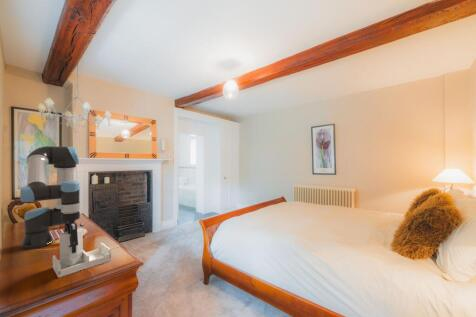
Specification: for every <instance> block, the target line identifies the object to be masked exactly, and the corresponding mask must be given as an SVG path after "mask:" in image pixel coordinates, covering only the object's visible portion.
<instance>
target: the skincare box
mask: <svg viewBox="0 0 476 317" xmlns="http://www.w3.org/2000/svg"><path fill="white" fill-rule="evenodd" d="M83 232H84V230H83V228H77V236H78V245H77V258H76V259H73V260H70V247H69V246H70V236H71V234H68V233H67V231H66V232H64V231H63V233H60V234H59V260H60V264H61V266H67V265H74V264H75V263H76V262H78V261H79V260H80V259H82V258H83V250H84V247H83V246H84V244H83V243H84V242H83V241H84V240H83V239H84V238H83V237H84V235H83ZM73 244H74V243H73Z"/></svg>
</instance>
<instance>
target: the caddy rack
mask: <svg viewBox="0 0 476 317" xmlns="http://www.w3.org/2000/svg"><path fill="white" fill-rule="evenodd" d="M111 261H112V249H111V247H109V246H107V245H106V244H105V243H104V242H100V247H99V248H95V249H92V250H90V251H89V250H88V251H85V250H84V249H83V258H82V259H80V260H79V261H78V262H76V263H75V264H74V265H67V266H61V264H60V259H59V258H57V256H56V255H52V269H53V270H54V272H55V274H56V276H57V277H58V278H62V277H65V276H68V275H71V274H74V273H77V272H80V270H81V271H83V269H84V270H86V269H90V268H92V267H95V265H96V266H98V265H101V264H105V263H109V262H111Z"/></svg>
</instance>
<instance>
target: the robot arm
mask: <svg viewBox="0 0 476 317" xmlns="http://www.w3.org/2000/svg"><path fill="white" fill-rule="evenodd" d="M78 154H79V152H78V150H77V148H76V147H74V146H53V145H52V146H47V145H46V146H45V145H44V146H42V147H38V148H36V149H34V150H32V151H30V153H29V154H28V155H27V157H26V161H25V162H26V165H27V166H28V167H27V168H28V169H27V178H26V180H27V181H26V186H22V187H21V188H20V192H19V197H20V202H22V203H28V202H31V203H33V202H40V201H41V202H43V201H49V200H56V203H55V204H54V205H53V208H50V207H49V206H44V207H43V206H42V207H38V208H33V209H30V210H28V211H27V212H25V213H24V218H23V219H24V236H23V239H22V241H21V244H20V250H25V251H26V250H35V249H39V248H43V247H46V246H45V245H46V244H47V243H49V242H51V241H52V240H53V241H54V238H53V236H52V233H51V231H50V227H57V226H63V225H64V231H63V233H64V232H66V231H67V233H68V234H71V236H70V246H69V247H70V260H73V259H76V258H77V245H78V236H77V229H78V224H77V223H76V221H77V220H79V219H80V218H81V214H80V213H81V212H80V210H81V207H80V206H81V203H80V192H81V191H80V189H81V186H80V182H79V181H77V180H74V169H75V168H76V167H77V165H79V164H80V158H79V155H78ZM48 165H52V166H53V168H54V169H55V170H56V184H51V185H50V184H47V166H48ZM73 243H74V244H73Z"/></svg>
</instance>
